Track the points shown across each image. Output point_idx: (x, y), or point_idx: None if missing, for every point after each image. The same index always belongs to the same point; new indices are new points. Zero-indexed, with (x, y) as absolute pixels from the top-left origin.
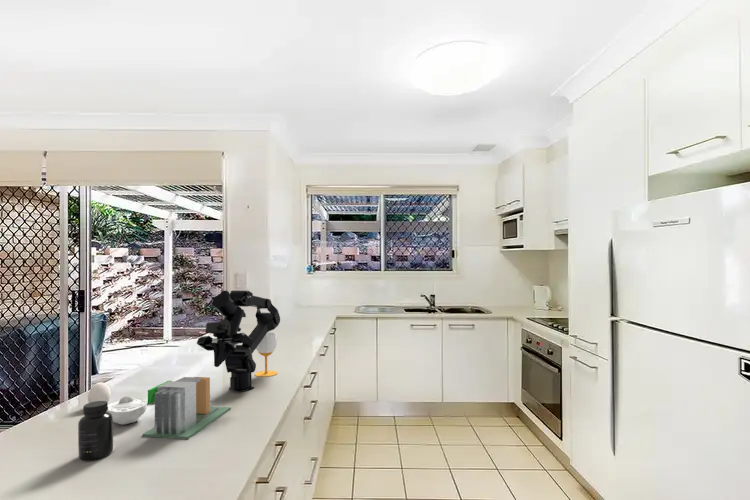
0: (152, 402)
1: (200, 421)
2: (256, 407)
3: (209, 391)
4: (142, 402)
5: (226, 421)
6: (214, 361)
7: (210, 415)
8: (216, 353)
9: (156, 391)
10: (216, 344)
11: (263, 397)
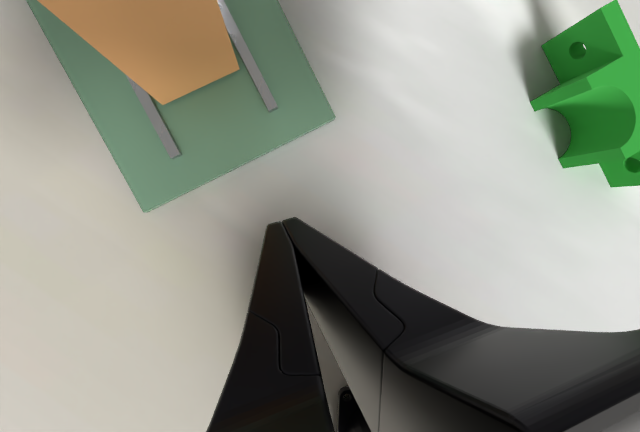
0: (548, 54)
1: None
2: (60, 305)
3: (106, 55)
4: None
5: (12, 98)
6: (318, 235)
7: (122, 83)
8: (353, 301)
9: (601, 62)
10: (476, 422)
11: (166, 422)
